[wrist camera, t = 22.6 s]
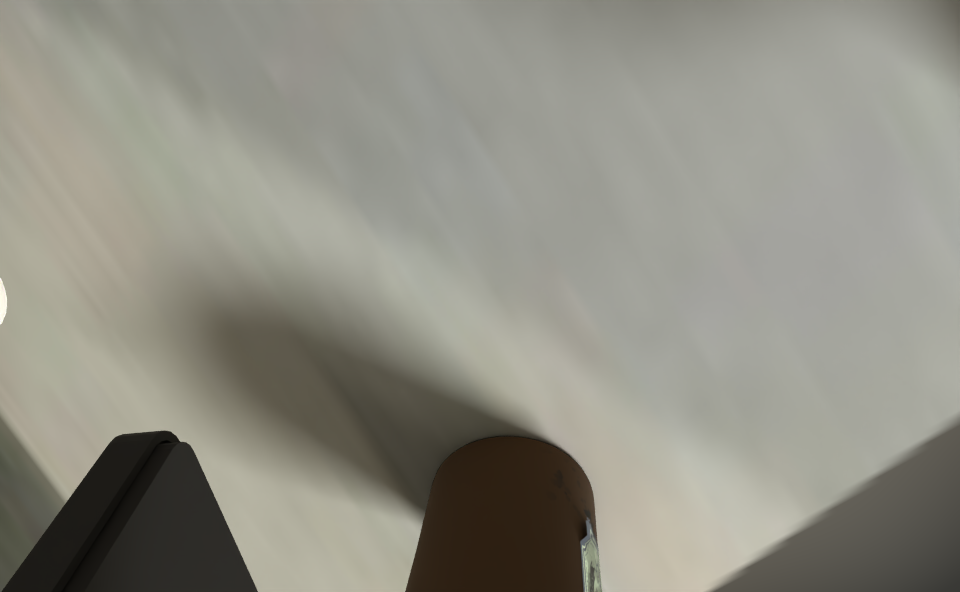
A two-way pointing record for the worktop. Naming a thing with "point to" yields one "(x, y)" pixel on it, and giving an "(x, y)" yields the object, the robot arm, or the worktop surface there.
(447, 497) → the olive oil
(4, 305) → the cylindrical container
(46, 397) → the worktop surface
